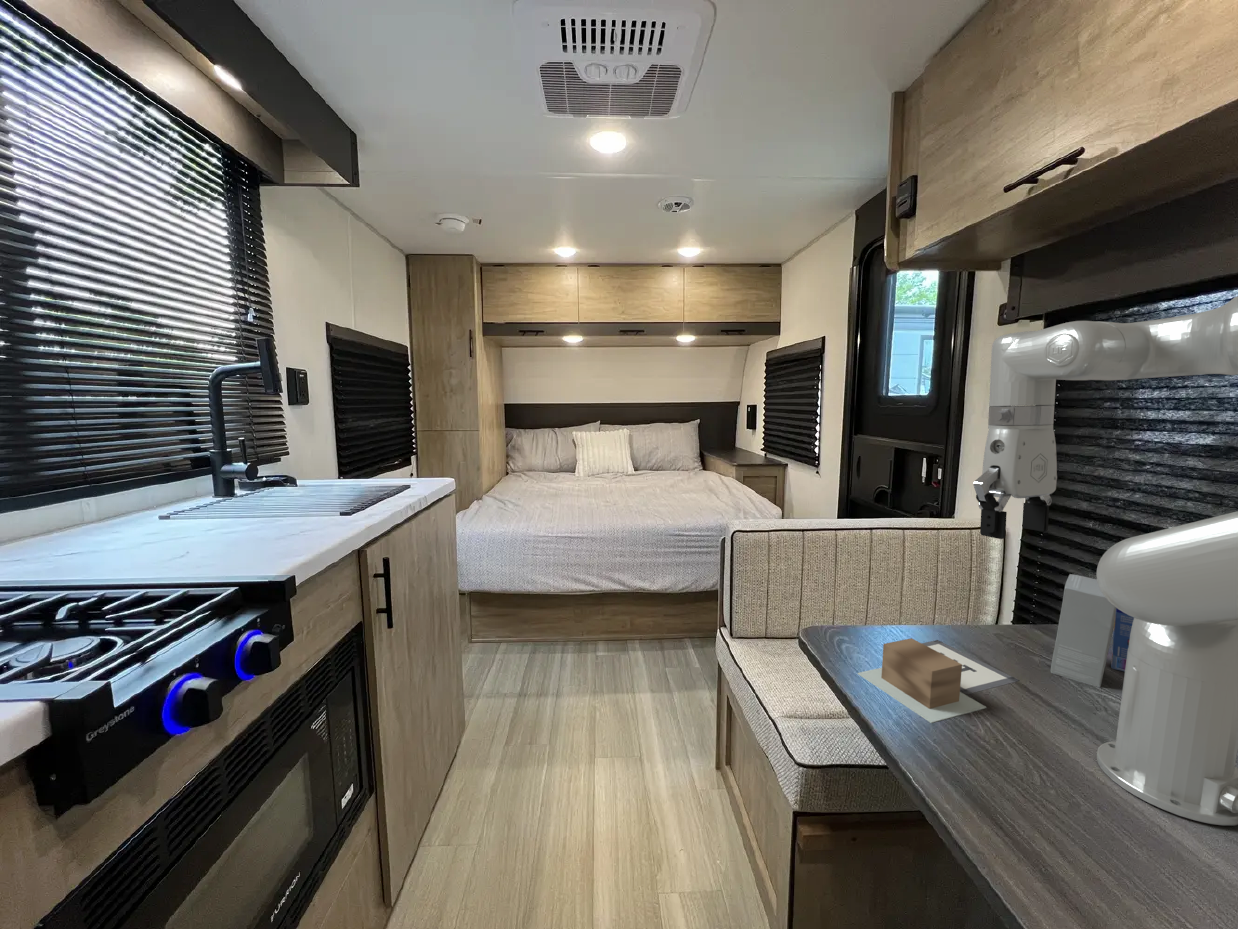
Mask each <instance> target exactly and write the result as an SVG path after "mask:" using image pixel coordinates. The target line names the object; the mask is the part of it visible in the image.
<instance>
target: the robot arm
mask: <svg viewBox="0 0 1238 929" xmlns="http://www.w3.org/2000/svg"><path fill="white" fill-rule="evenodd" d="M991 346H992V347H991V355H990V356H991V357H990V358H991V360H990V376H989V378H990V380H989V381H990V382H989V396H988V397H989V398H988V399H989V400H988V417H987V418H988V422H987V424H988V426H987V429H988V432H987V437H986V441H985V447H984V451H983V452H984V453H983V462H982V474H981V475H980V476H979V477H978V478H977V479H975V480H974V481H973V488H974V490H975V493H976V495H975V498H976V501H977V502H978V508H979V509H980V510H981V511H980V526H979V527H980V529H979V533H980V535H981V536H982V537H983V536H984V537H988V538H992V539H998V540H1004V539H1005V538H1006V536H1007V535H1006V531H1007V514H1008V513H1007V512H1008V511H1004V509H1005V508H1006V506H1007V503H1008V502H1009V500H1010V499H1011V497H1012V498H1015V499H1025V500H1026V502H1023V504H1022V506H1023V508H1022V524H1021V526H1022V528H1023V529H1025V530H1029V531H1036V532H1041V533H1045V532H1048V531H1049V515H1050V506H1051V504H1052V495H1053V494H1054V493H1055V491H1056V490H1057V480H1058V473H1057V471H1058V469H1057V465H1058V464H1057V443H1056V437H1055V436H1056V435H1055V430H1054V419H1055V418H1054V415H1055V401H1056V400H1055V399H1056V385H1057V384H1056V383H1057V380H1058V381H1059V380H1060V381H1061V380H1062V381H1064V380H1065V381H1124V380H1137V379H1140V380H1141V379H1152V378H1153V379H1155V378H1169V377H1171V378H1173V377H1186V376H1199V375H1214V374H1215V375H1226V376H1236V375H1237V376H1238V295H1237V296H1235V297H1234V298H1232V299H1231V300H1230V301H1228V302H1227V303H1225V304H1223V305H1221V306H1219V307H1216V308H1213V309H1209V310H1206V311H1202V312H1196V313H1192V314H1187V315H1186V314H1185V315H1180V316H1172V317H1166V318H1160V319H1152V320H1146V321H1135V322H1125V323H1124V322H1122V323H1121V322H1112V321H1098V320H1097V321H1094V320H1093V321H1092V320H1075V321H1069V322H1065V323H1060V324H1056V325H1053V326H1050V327H1046V328H1043V329H1038V330H1028V331H1020V332H1019V331H1018V332H1012V333H1011V332H1010V333H1006V334H1003V335H1000V336H998V337H997V338H996V339H994V341H993V343H992V344H991ZM996 498H998V499H996ZM1098 561H1099V562H1098V564H1097V568H1096V574H1095V575H1096V579H1097V582H1098V585H1099V588H1100V590H1101V592H1102V593H1103V595H1104V596H1105V598H1106V599H1107V600H1108V601H1109V602H1110V603H1111V604H1112V605H1114V606H1115V607H1116V608H1117V609H1119V610H1120V611H1122V612H1124V613H1125V614H1127V615H1129V616H1131V617H1134V620H1133V624H1132V628H1131V633H1130V640H1129V647H1128V652H1127V660H1126V668H1125V672H1124V678H1123V684H1122V692H1121V701H1120V707H1119V708H1120V709H1119V715H1118V724H1117V731H1116V737H1115V738H1116V739H1115V740H1112V741H1107V742H1104V743H1102V744H1100V746H1098V747H1097V751H1096V762H1097V763H1098V766H1099V768H1101V770H1102V771H1103V773H1104V774H1105V775H1106V776H1108V777H1109V778H1110V780H1112V781H1113V782H1114V783H1115V784H1117V785H1118V786H1120V787H1121V788H1123V790H1125V791H1127V792H1129V793H1130V794H1132V795H1133V796H1135V797H1137V798H1138V799H1140V800H1142V801H1144V802H1147V803H1148V804H1150V805H1152V806H1155V807H1157V808H1159V809H1161V810H1164V811H1166V812H1169V813H1171V814H1174V815H1176V816H1179V817H1181V818H1186V819H1189V820H1193V821H1196V822H1200V823H1204V824H1209V825H1218V826H1238V767H1236V763H1237V755H1238V510H1237V511H1233V512H1229V513H1226V514H1222V515H1216V516H1214V517H1209V518H1204V519H1201V520H1197V521H1193V522H1189V523H1185V524H1182V525H1181V524H1180V525H1177V526H1173V527H1172V526H1171V527H1169V528H1164V529H1161V530H1156V531H1153V532H1149V533H1144V534H1140V535H1136V536H1131V537H1129V538H1124V539H1123V540H1121V541H1119V542H1116V543H1115V544H1113V545H1112V546H1110V547H1109V548H1108V549H1107V550H1106V551H1105V552H1104V553H1103V554H1102V556H1101V557H1100V559H1099V560H1098Z"/></svg>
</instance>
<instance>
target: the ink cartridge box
mask: <svg viewBox="0 0 1238 929" xmlns="http://www.w3.org/2000/svg"><path fill="white" fill-rule="evenodd" d="M1133 620H1134V617H1131V616H1129V615H1127V614H1125V613H1124V612H1122V611H1120V610H1119V609H1117V608H1116V614H1115V622H1114V628H1113V633H1112V646H1111V663H1110V667H1111V669H1113V670H1117V671H1119V672H1124V673H1125V668H1126V660H1127V652H1128V647H1129V640H1130V633H1131V628H1132V624H1133Z"/></svg>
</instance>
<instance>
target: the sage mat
mask: <svg viewBox="0 0 1238 929" xmlns="http://www.w3.org/2000/svg"><path fill="white" fill-rule="evenodd" d="M857 675H859V676H860V677H861V678H863V679H865V680H866V681H868V682H869V683H870V684H872V686H875V687H876V688H878V689H879V690H881V691H882V692H884V693H885V694H887V695H888V696H890V697H892V699H894V700H896V701H897V702H899V703H900V704H902V705H903V706H905V707H907V708H908V709H909V710H911V711H912V712H913V713H915V714H916V715H918V716H919V717H922V718H923V719H925V721H927V722H929V723H930V724H933V723H937V722H941V721H943V720H947V719H951V718H955V717H959V716H962V715H965V714H971V713H973V712H976V711H981V710H984V709H987V706H986V705H983V704H982V703H980V702H978V701H976V700H975V699H973V698H971V697H970V696H968V695H966V694H965V693H963V692H961V691H960V696H959V701H958V702H954V703H950V704H946V705H942V706H939V707H935V708H931V709H929V708H927V707H926V706H924V705H922V704H921V703H919V702H918V701H916V700H915V699H913V698H912V697H910V696H909V695H907V694H905V693H904V692H902V691H901V690H899V689H898V688H896V687H895V686H893V685H892V684H890V683H888V682H887V681H885V680H884V679H882V678H881V676H882V667H879V668H878V667H877V668H873V669H870V670H865V671H861V672H857Z"/></svg>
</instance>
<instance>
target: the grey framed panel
mask: <svg viewBox="0 0 1238 929" xmlns="http://www.w3.org/2000/svg"><path fill="white" fill-rule="evenodd" d="M921 643H922V644H924V645H926V646H927V647H929V648H931V649H933V650H935V651H937V652H939V653H941V654H943V655H945V656H947V657H949V658H951V659H953V660H954V661H956V662H958V663H960V664H962V672H961V684H960V692H961V693H963V694H965V695H966V696H968V695H971V694H973V693H978V692H982V691H985V690H989V689H993V688H997V687H1002V686H1004V685H1009V684H1013V683H1016V682H1020V679H1018V678H1016V677H1013V676H1011V675H1010V674H1007V673H1006V672H1004V671H1001V670H1000V669H999V668H998V669H997V668H996V667H993V666H992V665H989V664H988V663H985V662H983V661H981V660H979V659H978V658H975V657H973V656H971V655H969V654H967V653H964V652H963V651H961V650H959V649H956V648H955V647H954V646H951V645H948V644H947V643H946V642H943V641H940V640H938V639H936V640H932V641H926V642H921Z"/></svg>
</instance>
